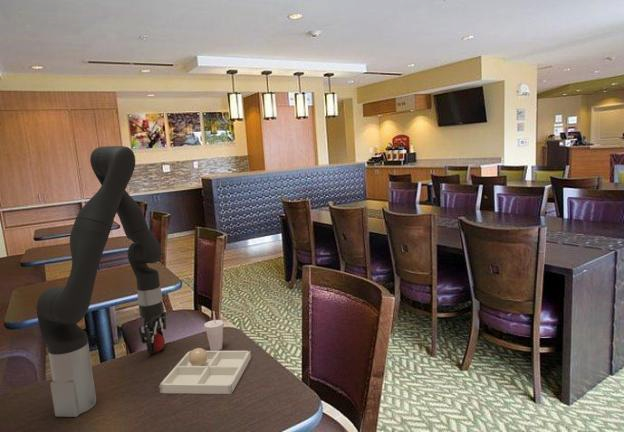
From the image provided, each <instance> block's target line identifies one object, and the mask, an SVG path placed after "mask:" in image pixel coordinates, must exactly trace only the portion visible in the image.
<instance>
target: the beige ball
mask: <svg viewBox="0 0 624 432" xmlns="http://www.w3.org/2000/svg"><path fill="white" fill-rule="evenodd" d="M191 351H192V352H191V353H190V355H189V362H190V363H191V365H193V366H203V365H204V364H205V363H206V361H207V358H208V355H207V352H206V351H207V350H205V349H204V348H201V347H197V348H194V349H192V350H191Z"/></svg>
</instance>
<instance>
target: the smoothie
mask: <svg viewBox="0 0 624 432" xmlns="http://www.w3.org/2000/svg"><path fill="white" fill-rule="evenodd" d="M215 313H216V312H215V310H213V311H212V316H213V319H212V320H209V321H207V322H205V323H204V324H203V325H204V326H203V328H204V329H205V332H206V336H207V342H208V344H209V349H210V350H209V351H222V349H223V334H224V333H223V332H224V321H223V320H221V319H216V314H215Z"/></svg>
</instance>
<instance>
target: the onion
mask: <svg viewBox="0 0 624 432" xmlns="http://www.w3.org/2000/svg"><path fill="white" fill-rule="evenodd" d="M150 339H151V335H150ZM165 342H166V341H165V338H164V335H163V336H162V335H161V334H159V333H157V331H156V335H154V347H155V352H154V353H159V352H160V351H161V350H163V348H164V346H165V344H166V343H165ZM145 344H146V343H145ZM146 346H147V344H146ZM154 353H153V354H154Z"/></svg>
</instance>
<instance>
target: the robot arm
mask: <svg viewBox="0 0 624 432" xmlns="http://www.w3.org/2000/svg"><path fill="white" fill-rule="evenodd" d="M89 158H90V159H89V161H90V166H91V169H92V171H93V173H94V175H95V176H96V179H97V180H98V181H99V184H100V185H101V186H100V188H99V189H98V190H97V192H96V193H95V194H93V196H92V197H91V198H90V199H89V200H88V201H87V202H86V203H85V204H84V205H83V206H82V207H81V208H80V210H79V211H78V214H77V215H76V217H75V220H74V223H73V225H72V229H71V231H70V234H69V248H70V254H71V255H70V256H71V270H70V272H69V276H68V278H67V279H68V280H67V281H66V283H65V286H51V287H49V288H47V289H45V290H43V292H41V294H40V295H39V297H38V299H37V303H36V316H37V321H38V325H39V326H38V327H39V331H40V334H41V335H40V336H41V339H42V341H43V342H44V344H45V346H46V347H47V352H48V359H49V366H50V371H51V372H50V373H51V377H52V378H51V379H52V381H50V383H49V385H50V391H51V396H52V397H51V398H52V403H53V410H54V415H55V417H63V418H64V417H65V418H67V417H68V418H73V417H74V418H77V417H78V416H79V415H82V414H83V413H86V412H87V411H89V410H91V409H93V407H94V406H95V405H96V404H97V396H96V389H95V382H94V376H93V375H94V374H93V369H92V361H91V355H90V354H91V353H90V347H89V339H88V334H87V332H86V331H85V330H84V329H83V328H81V327H80V326H79V325H78V323H79V322H81V321H82V320H83V319H84V318H85V316H86V315H87V313H88V311H89V309H90V304H91V301H92V296H93V292H94V287H95V283H96V277H97V273H98V271H99V270H98V269H99V268H100V263H101V260H102V257H103V254H104V250H105V247H106V245H107V242H108V240H109V237H110V233H111V231H112V227H113V224H114V220H115V217H116V215H118V216H117V217H118V218H119V221H120V223H121V226H122V228H123V231H124V234H125V236H126V238H127V239H129V240H130V241H133V243H132V242H131V244H129V247H128V249H127V253H126V254H127V260H128V262H129V265H130V267H131V269H132V272H133V273H134V274H133V275H134V276H135V279H136V288H137V301H138V302H137V304H138V311H139V316H140V317H141V318H142V319H143V321H144V322H143V325H142V326H139V327H138V330H139V336H140V339H141V343H142V344H147V345H146V348H147V349H146V350H147V353H148V354H154V352H155V347H154V335H156V331H157V333H159V334H161V335H162V336H163V337H164V333H165V330H166V329H167V318H166V317H167V315H166V312H165V311H164V303H163V296H162V295H163V293H162V289H161V282H160V274H159V271H158V270H157V269H155V268H153V267H152V268H151V267H149V265H148V264H156V263H157V262H159V261H160V260H161V258H162V253H163V251H162V246H161V244H160V242H159V241H158V240H157V237H155V235H154V233H153V232H152V231H151V230H150V228H149V226H148V224H147V221H146V217H145V215H144V212H143V210H142V208H141V207H140V205H139V204H138V203H137V202H136V200H134V198H133V197H132V196H131V195H130V194H129V193H128V192H127V190H126V189H127V187H128V185H129V183H130V180H131V179H132V177H133V174H134V171H135V169H136V168H135V167H136V156H135V154H134V150H132V149H131V148H130V147H128V146H124V145H123V146H122V145H116V146H114V145H111V146H110V145H109V146H100V147H96V148H94V149H93V151H92V152H91V154H90V157H89ZM150 335H151V339H150Z"/></svg>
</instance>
